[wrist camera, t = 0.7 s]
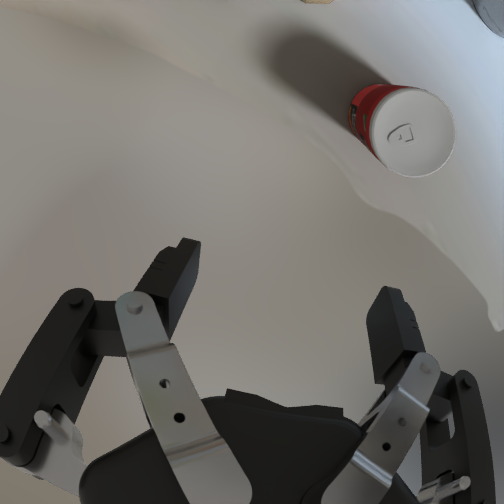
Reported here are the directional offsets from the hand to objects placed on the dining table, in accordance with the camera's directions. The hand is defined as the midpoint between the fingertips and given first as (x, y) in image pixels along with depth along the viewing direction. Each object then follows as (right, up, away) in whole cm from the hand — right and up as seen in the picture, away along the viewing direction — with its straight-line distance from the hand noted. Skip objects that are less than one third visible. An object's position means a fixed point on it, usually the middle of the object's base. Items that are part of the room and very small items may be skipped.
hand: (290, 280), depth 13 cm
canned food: (+13, +16, +17) cm, 27 cm away
